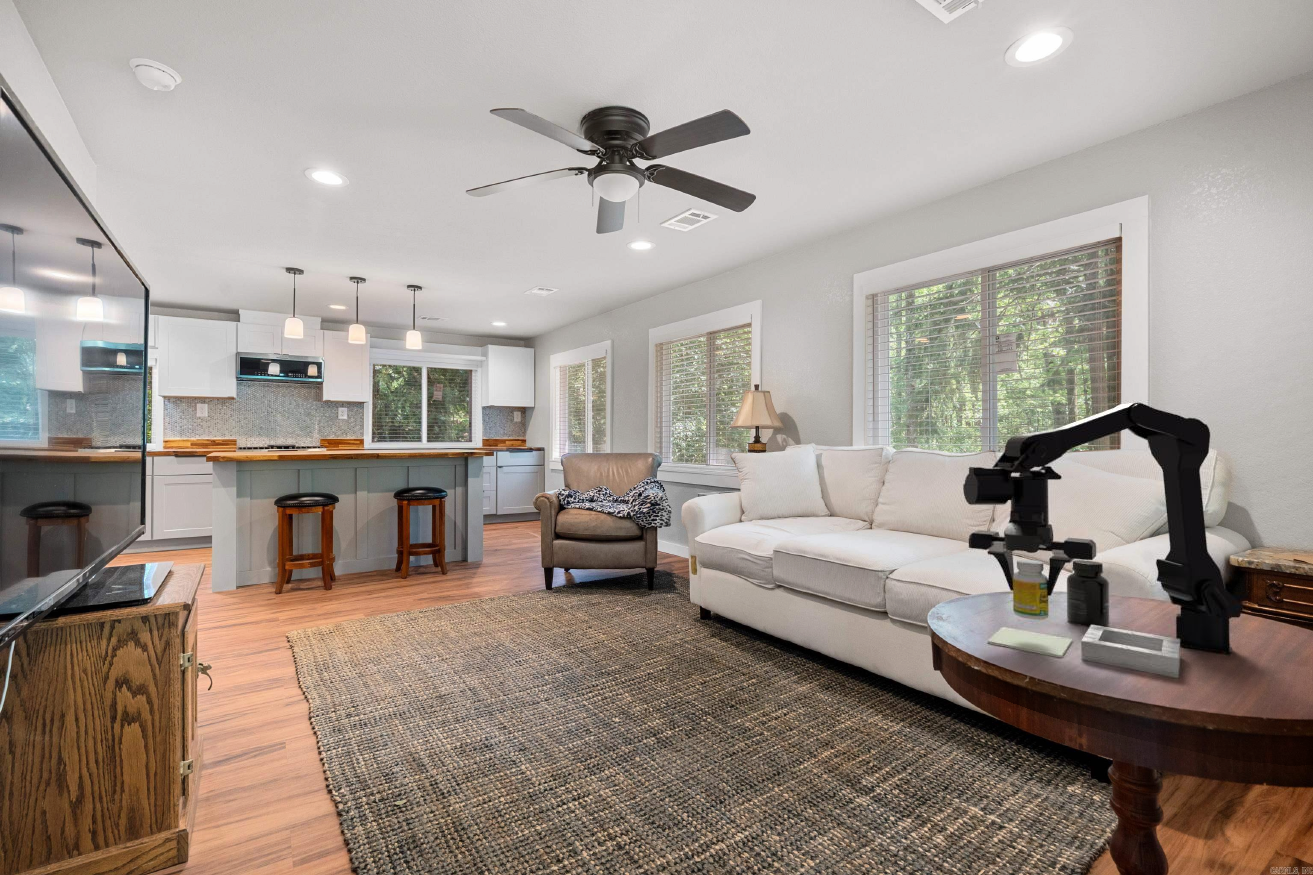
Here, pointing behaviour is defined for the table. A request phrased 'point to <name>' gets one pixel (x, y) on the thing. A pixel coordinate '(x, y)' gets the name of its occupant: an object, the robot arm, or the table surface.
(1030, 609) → the supplement bottle
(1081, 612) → the supplement bottle
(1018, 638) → the sage pad
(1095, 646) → the grey square frame
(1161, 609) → the table surface
